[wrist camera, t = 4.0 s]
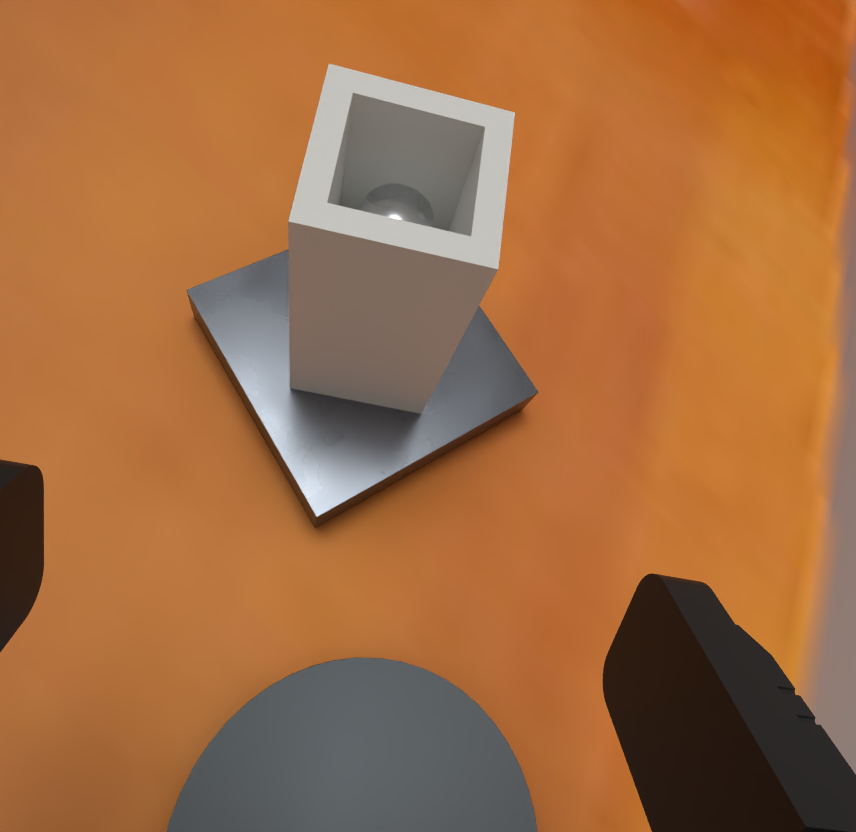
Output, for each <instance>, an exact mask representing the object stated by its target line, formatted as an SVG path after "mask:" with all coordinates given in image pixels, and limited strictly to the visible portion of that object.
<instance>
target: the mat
mask: <svg viewBox="0 0 856 832" xmlns="http://www.w3.org/2000/svg"><path fill="white" fill-rule="evenodd" d="M167 832H537V826H536V819H535V813H534V809H533V805H532V801H531V797H530V793H529V789H528V786H527V784H526V781H525V778H524V776H523V773H522V770H521V768H520V765H519V763H518V761H517V759H516V757H515V755H514V753H513V751H512V749H511V748H510V746H509V744H508V742H507V741H506V739H505V738H504V736H503V735H502V733H501V732H500V730H499V729H498V727H497V726H496V724H495V723H494V722H493V721H492V719H491V718H490V717H489V716H488V715H487V714H486V713H485V712H484V710H483V709H482V708H481V707H480V706H479V705H478V704H477V703H476V702H475V701H473V700H472V699H471V698H470V697H469V696H468V695H467V694H465V693H464V692H463V691H462V690H460V689H459V688H457V687H456V686H454V685H453V684H451V683H450V682H448V681H447V680H445V679H444V678H442V677H440V676H438V675H436V674H434V673H432V672H429V671H427V670H425V669H423V668H420V667H417V666H414V665H411V664H407V663H404V662H400V661H394V660H388V659H382V658H350V659H341V660H333V661H329V662H325V663H322V664H318V665H314V666H311V667H308V668H306V669H303V670H301V671H298V672H296V673H293V674H291V675H289V676H287V677H285V678H283V679H282V680H280V681H278V682H276V683H275V684H273V685H271V686H269V687H268V688H266V689H265V690H264V691H262V692H261V693H260V694H258V695H257V696H256V697H254V698H253V699H251V700H250V701H249V702H248V703H247V704H245V705H244V706H243V707H242V708H241V709H240V710H239V711H238V712H237V713H236V714H235V715H234V716H233V717H232V718H231V719H229V720H228V722H227V723H226V724H225V725H224V726H223V727H222V729H221V730H220V731H219V732H218V733H217V735H216V736H215V737H214V738H213V739H212V741H211V742H210V743H209V745H208V746H207V748H206V749H205V751H204V752H203V754H202V755H201V757H200V758H199V760H198V761H197V763H196V764H195V766H194V767H193V769H192V771H191V773H190V775H189V777H188V779H187V781H186V783H185V785H184V787H183V789H182V791H181V793H180V795H179V798H178V800H177V803H176V806H175V808H174V811H173V814H172V816H171V819H170V822H169V826H168V830H167Z"/></svg>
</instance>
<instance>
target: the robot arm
mask: <svg viewBox="0 0 856 832" xmlns="http://www.w3.org/2000/svg"><path fill="white" fill-rule="evenodd" d="M43 570H44V483H43V476H42V473H41V471H40V469H39V468H38V467H37V466H34V465H28V464H23V463H17V462H11V461H5V460H0V652H1V651H2V649H3V648H4V647H5V645H6V644H7V643H8V641H9V640H10V639H11V637H12V636H13V635H14V633H15V632H16V631H17V629H18V628H19V627H20V625H21V624H22V623H23V621H24V620H25V619H26V617H27V616H28V614H29V612H30V610H31V609H32V607H33V605H34V602H35V600H36V598H37V595H38V592H39V589H40V586H41V582H42V577H43ZM603 692H604V698H605V702H606V705H607V708H608V711H609V713H610V716H611V719H612V722H613V725H614V727H615V730H616V733H617V736H618V738H619V741H620V744H621V747H622V750H623V752H624V755H625V758H626V761H627V763H628V766H629V769H630V772H631V775H632V777H633V780H634V783H635V786H636V788H637V791H638V794H639V797H640V800H641V802H642V805H643V808H644V811H645V814H646V816H647V819H648V822H649V825H650V827H651V830H652V832H856V775H855V773H854V772H853V770H852V769H851V767H850V766H849V765H848V763H847V762H846V761H845V759H844V758H843V756H842V755H841V753H840V752H839V750H838V749H837V748H836V746H835V745H834V743H833V742H832V741H831V739H830V738H829V736H828V735H827V733H826V732H825V730H824V729H823V728H822V726H821V725H816V724H815V716H814V715H813V713H812V712H811V711H810V709H809V708H808V706H807V705H806V703H805V702H804V701H803V699H802V698H801V696H799V695H795V688H794V686H793V685H792V684H791V682H790V681H789V679H788V678H787V676H786V675H785V674H784V672H783V671H782V669H781V668H780V667H779V665H778V664H777V662H776V661H775V659H774V658H773V657H772V655H771V654H770V653H768V652H767V651H766V650H765V649H764V648H763V647H762V646H761V645H760V644H759V643H757V642H756V641H755V640H754V639H753V638H752V637H751V636H750V635H749V634H747V633H746V632H745V631H744V630H743V629H742V628H741V627H740V626H739V625H735V623H734V622H733V620H732V619H731V617H730V616H729V615H728V613H727V612H726V610H725V609H724V607H723V606H722V604H721V603H720V601H719V600H718V598H717V597H716V595H715V594H714V592H713V591H712V589H711V588H710V587H709V586H708V585H707V584H705V583H703V582H699V581H693V580H687V579H681V578H675V577H670V576H664V575H658V574H648V575H646V576H645V577H644V578H643V579H642V580H641V581H640V583H639V585H638V587H637V589H636V591H635V593H634V595H633V598H632V600H631V602H630V604H629V607H628V609H627V611H626V613H625V616H624V618H623V620H622V622H621V625H620V627H619V629H618V631H617V633H616V636H615V638H614V640H613V642H612V645H611V647H610V649H609V651H608V654H607V656H606V660H605V664H604V670H603Z"/></svg>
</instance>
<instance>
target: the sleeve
mask: <svg viewBox="0 0 856 832" xmlns="http://www.w3.org/2000/svg"><path fill="white" fill-rule="evenodd" d="M514 116H515V112H511V111H507V110H503V109H499V108H496V107H492V106H488V105H484V104H480V103H477V102H473V101H469V100H465V99H461V98H458V97H454V96H450V95H446V94H442V93H439V92H435V91H431V90H427V89H423V88H420V87H416V86H412V85H408V84H404V83H401V82H397V81H393V80H389V79H385V78H382V77H378V76H374V75H370V74H366V73H363V72H359V71H355V70H351V69H347V68H344V67H340V66H336V65H332V64H329V65H328V69H327V73H326V77H325V81H324V85H323V89H322V93H321V97H320V100H319V104H318V108H317V112H316V116H315V120H314V124H313V128H312V132H311V136H310V139H309V143H308V147H307V151H306V155H305V159H304V163H303V167H302V171H301V174H300V178H299V182H298V186H297V190H296V194H295V198H294V202H293V206H292V210H291V213H290V217H289V221H288V224H289V360H290V388H292V389H297V390H302V391H307V392H312V393H317V394H322V395H328V396H333V397H338V398H343V399H348V400H353V401H358V402H363V403H369V404H374V405H379V406H384V407H389V408H394V409H399V410H404V411H410V412H415V413H420V414H422V412H423V410H424V408H425V406H426V404H427V402H428V401H429V399H430V397H431V395H432V393H433V391H434V389H435V387H436V385H437V384H438V382H439V380H440V378H441V376H442V374H443V372H444V370H445V369H446V367H447V365H448V363H449V361H450V359H451V357H452V355H453V353H454V352H455V350H456V348H457V346H458V344H459V342H460V340H461V338H462V336H463V335H464V333H465V331H466V329H467V327H468V325H469V323H470V321H471V320H472V318H473V316H474V314H475V312H476V310H477V308H478V306H479V304H480V303H481V301H482V299H483V297H484V295H485V293H486V291H487V289H488V287H489V286H490V284H491V282H492V280H493V278H494V276H495V274H496V272H497V271H498V266H499V257H500V247H501V238H502V228H503V219H504V210H505V200H506V191H507V182H508V172H509V163H510V153H511V144H512V135H513V125H514ZM385 184H402V185H406V186H409V187H411V188H413V189H415V190H417V191H418V192H420V193H421V194H422V195H423V196H424V197H425V198H426V199H427V200H428V202H429V203H430V205H431V207H432V210H433V214H434V221H433V226H432V227H429V226H424V225H420V224H416V223H412V222H407V221H403V220H399V219H394V218H390V217H386V216H382V215H377V214H373V213H369V212H365V211H362V206H363V202H364V199H365V198H366V196H367V195H368V194H369V192H371V191H372V190H373V189H375V188H376V187H379V186H381V185H385Z"/></svg>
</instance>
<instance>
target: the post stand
mask: <svg viewBox="0 0 856 832" xmlns="http://www.w3.org/2000/svg"><path fill="white" fill-rule="evenodd" d="M362 211H365V212H369V213H373V214H377V215H382V216H386V217H390V218H394V219H399V220H403V221H407V222H412V223H416V224H420V225H424V226H429V227H432V226H433V221H434V214H433V210H432V207H431V205H430V203H429V202H428V200H427V199H426V198H425V197H424V196H423V195H422V194H421V193H420V192H418V191H417V190H415V189H413V188H411V187H409V186H406V185H402V184H385V185H381V186H379V187H376V188H375V189H373V190H372V191H371V192H369V194H368V195H367V196H366V198H365V199H364V202H363V206H362ZM187 294H188V297H189V301H190V304H191V308H192V311H193V315H194V317H195V319H196V320H197V322H198V324H199V326H200V327H201V329H202V331H203V333H204V334H205V336H206V338H207V340H208V341H209V343H210V345H211V347H212V348H213V350H214V352H215V354H216V355H217V357H218V359H219V361H220V362H221V364H222V366H223V368H224V369H225V371H226V373H227V375H228V376H229V378H230V380H231V382H232V383H233V385H234V387H235V389H236V390H237V392H238V394H239V396H240V397H241V399H242V401H243V403H244V404H245V406H246V408H247V410H248V411H249V413H250V415H251V417H252V418H253V420H254V422H255V424H256V425H257V427H258V429H259V431H260V432H261V434H262V436H263V438H264V439H265V441H266V443H267V445H268V446H269V448H270V450H271V452H272V453H273V455H274V457H275V459H276V460H277V462H278V464H279V466H280V467H281V469H282V471H283V473H284V474H285V476H286V478H287V480H288V481H289V483H290V485H291V487H292V488H293V490H294V492H295V494H296V495H297V497H298V499H299V500H300V502H301V504H302V506H303V507H304V509H305V511H306V513H307V514H308V516H309V518H310V520H311V521H312V523H313V525H314V527H317V526H318V525H320V524H322V523H324V522H325V521H327V520H329V519H331V518H333V517H334V516H336V515H338V514H340V513H341V512H343V511H345V510H347V509H348V508H350V507H352V506H354V505H355V504H357V503H359V502H361V501H362V500H364V499H366V498H368V497H369V496H371V495H373V494H375V493H376V492H378V491H380V490H382V489H384V488H385V487H387V486H389V485H391V484H392V483H394V482H396V481H398V480H399V479H401V478H403V477H405V476H406V475H408V474H410V473H412V472H413V471H415V470H417V469H419V468H420V467H422V466H424V465H426V464H428V463H429V462H431V461H433V460H435V459H436V458H438V457H440V456H442V455H443V454H445V453H447V452H449V451H450V450H452V449H454V448H456V447H457V446H459V445H461V444H463V443H464V442H466V441H468V440H470V439H471V438H473V437H475V436H477V435H479V434H480V433H482V432H484V431H486V430H487V429H489V428H491V427H493V426H494V425H496V424H498V423H500V422H501V421H503V420H505V419H507V418H508V417H510V416H512V415H514V414H515V413H517V412H519V411H521V410H522V409H523V408H524V407H525V406H526V405H527V404H528V403H529V402H530V401H531V400H532V399H533V397H534V396H535V395H536V394H537V393H538V391H537V389H536V388H535V386H534V385H533V383H532V382H531V381H530V379H529V378H528V376H527V375H526V373H525V372H524V370H523V369H522V367H521V366H520V364H519V363H518V362H517V360H516V359H515V357H514V356H513V354H512V353H511V351H510V350H509V348H508V347H507V345H506V344H505V342H504V341H503V340H502V338H501V337H500V335H499V334H498V332H497V331H496V329H495V328H494V326H493V325H492V323H491V322H490V321H489V319H488V318H487V316H486V315H485V313H484V312H483V310H482V309H481V307H480V306H478V308H477V310H476V312H475V314H474V316H473V318H472V320H471V321H470V323H469V325H468V327H467V329H466V331H465V333H464V335H463V336H462V338H461V340H460V342H459V344H458V346H457V348H456V350H455V352H454V353H453V355H452V357H451V359H450V361H449V363H448V365H447V367H446V369H445V370H444V372H443V374H442V376H441V378H440V380H439V382H438V384H437V385H436V387H435V389H434V391H433V393H432V395H431V397H430V399H429V401H428V402H427V404H426V406H425V408H424V410H423V412H422V414H420V413H415V412H410V411H404V410H399V409H394V408H389V407H384V406H379V405H374V404H369V403H363V402H358V401H353V400H348V399H343V398H338V397H333V396H328V395H322V394H317V393H312V392H307V391H302V390H297V389H292V388H290V360H289V249H288V250H286V251H283V252H281V253H278V254H276V255H273V256H271V257H268V258H266V259H263V260H261V261H258V262H256V263H253V264H251V265H248V266H246V267H243V268H241V269H238V270H236V271H233V272H231V273H228V274H225V275H223V276H220V277H218V278H215V279H213V280H210V281H208V282H205V283H203V284H200V285H198V286H195V287H193V288H190V289H188V290H187Z"/></svg>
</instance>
